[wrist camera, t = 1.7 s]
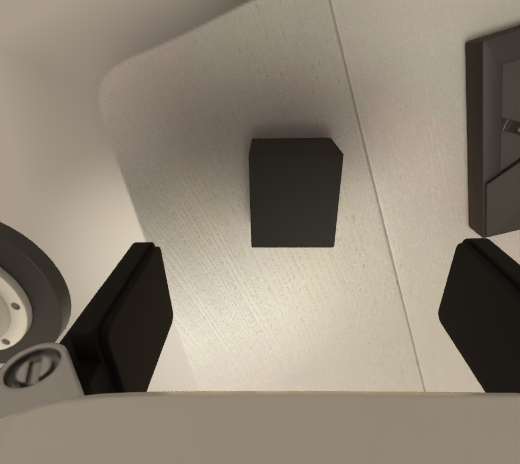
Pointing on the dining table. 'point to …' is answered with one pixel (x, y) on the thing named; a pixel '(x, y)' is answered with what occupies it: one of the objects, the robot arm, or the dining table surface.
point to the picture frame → (494, 132)
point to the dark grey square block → (294, 191)
